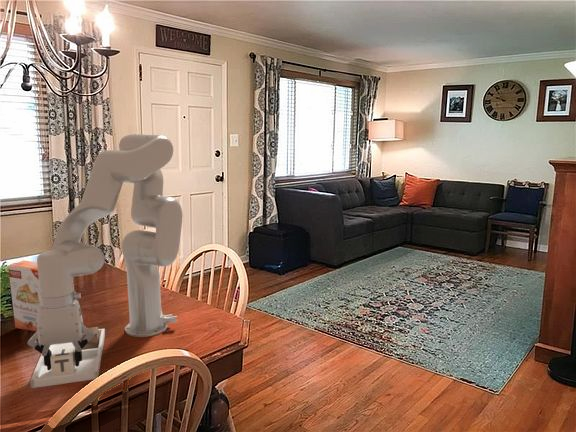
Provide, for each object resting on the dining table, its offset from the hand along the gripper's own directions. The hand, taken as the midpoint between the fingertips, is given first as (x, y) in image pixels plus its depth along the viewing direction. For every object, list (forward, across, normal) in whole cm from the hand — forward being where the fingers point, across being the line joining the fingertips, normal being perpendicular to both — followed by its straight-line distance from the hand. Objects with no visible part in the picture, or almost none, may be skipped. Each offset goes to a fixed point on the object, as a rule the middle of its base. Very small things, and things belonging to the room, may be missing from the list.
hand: (64, 365), depth 119 cm
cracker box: (+2, +12, -30) cm, 32 cm away
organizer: (+2, -1, -6) cm, 7 cm away
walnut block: (+1, -5, -13) cm, 14 cm away
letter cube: (+1, 0, 0) cm, 1 cm away
